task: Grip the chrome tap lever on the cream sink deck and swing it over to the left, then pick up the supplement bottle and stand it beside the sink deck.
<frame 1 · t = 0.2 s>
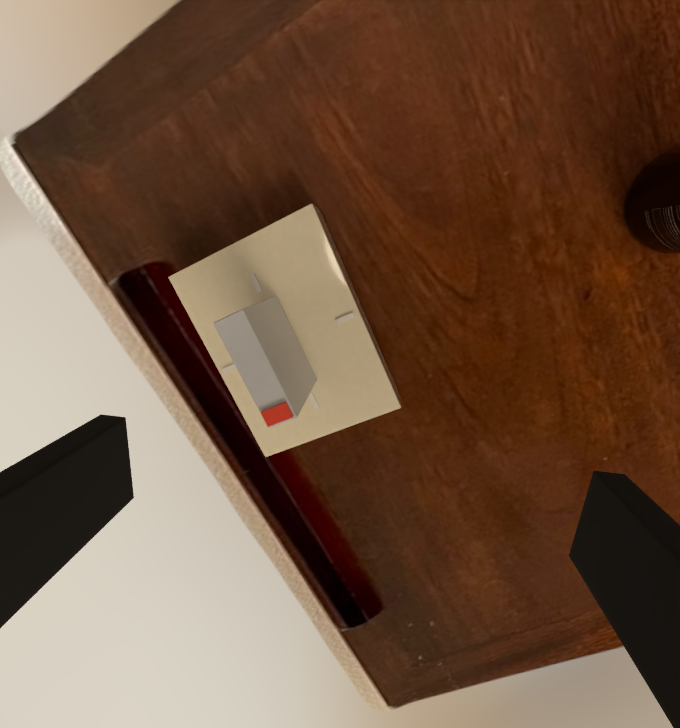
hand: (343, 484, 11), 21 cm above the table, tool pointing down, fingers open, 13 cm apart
supplement bottle: (676, 200, 26), on the table
tap lever: (272, 356, 25), point 7 cm above the table, hinge at 0.0°
sink deck: (295, 335, 32), on the table
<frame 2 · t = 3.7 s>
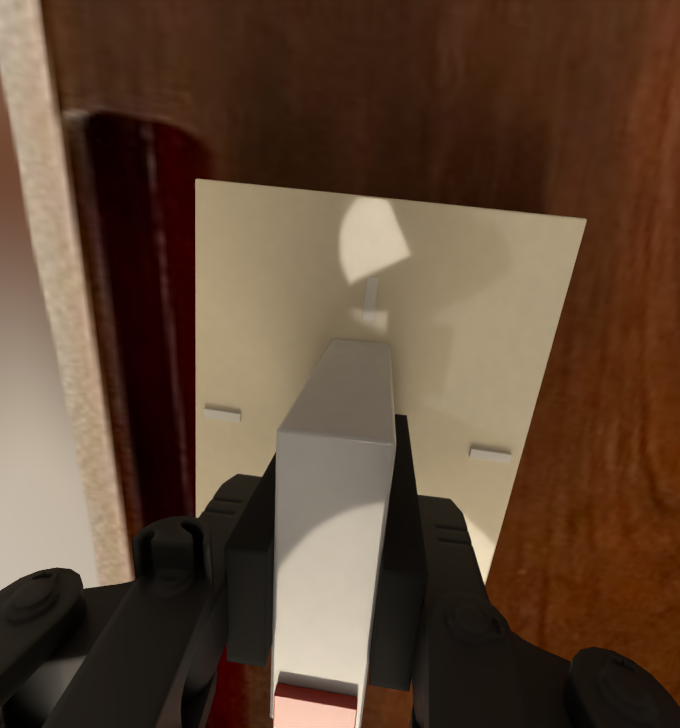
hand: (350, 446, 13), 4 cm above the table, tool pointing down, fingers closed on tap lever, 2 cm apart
tap lever: (342, 494, 10), point 7 cm above the table, hinge at 2.4°, touching gripper
sink deck: (358, 402, 17), on the table
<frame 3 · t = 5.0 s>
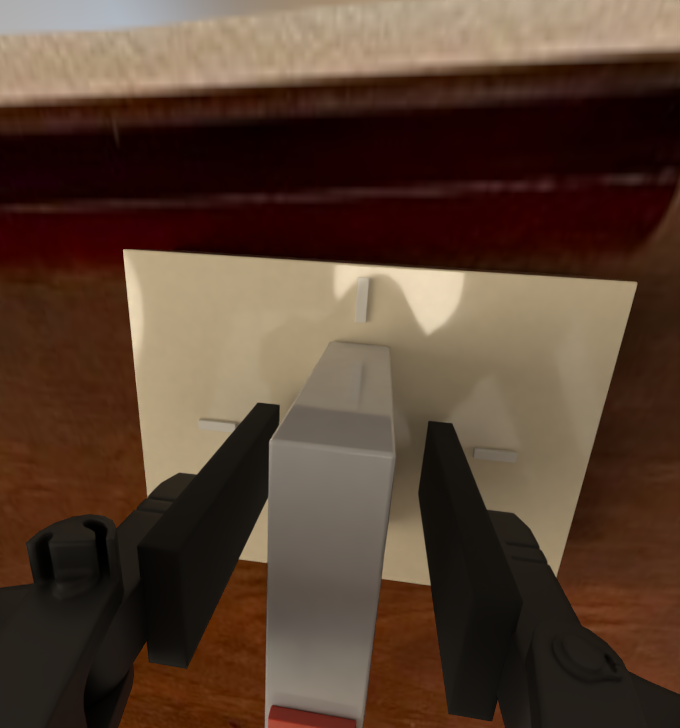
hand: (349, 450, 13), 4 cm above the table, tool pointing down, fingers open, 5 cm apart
tap lever: (340, 503, 10), point 7 cm above the table, hinge at 89.5°
sink deck: (357, 406, 16), on the table
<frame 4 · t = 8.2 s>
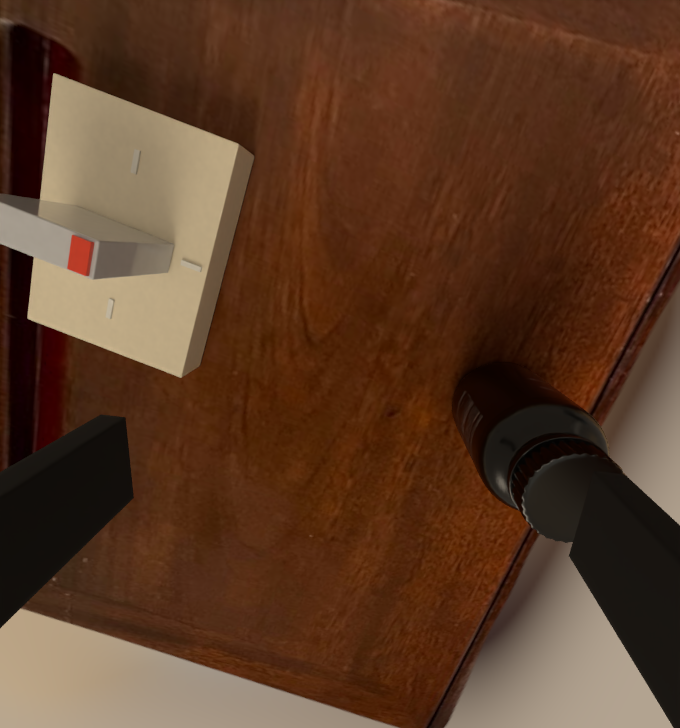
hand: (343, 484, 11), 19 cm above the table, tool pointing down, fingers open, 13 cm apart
supplement bottle: (496, 401, 29), on the table
tap lever: (81, 237, 22), point 7 cm above the table, hinge at 89.5°
sink deck: (149, 240, 28), on the table
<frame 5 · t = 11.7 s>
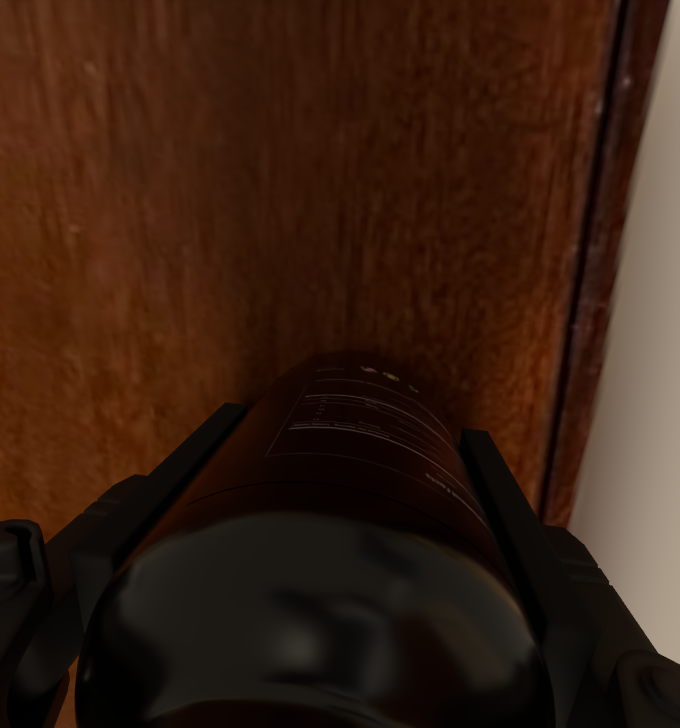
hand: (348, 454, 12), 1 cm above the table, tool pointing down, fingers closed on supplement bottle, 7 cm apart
supplement bottle: (352, 437, 14), on the table, touching gripper
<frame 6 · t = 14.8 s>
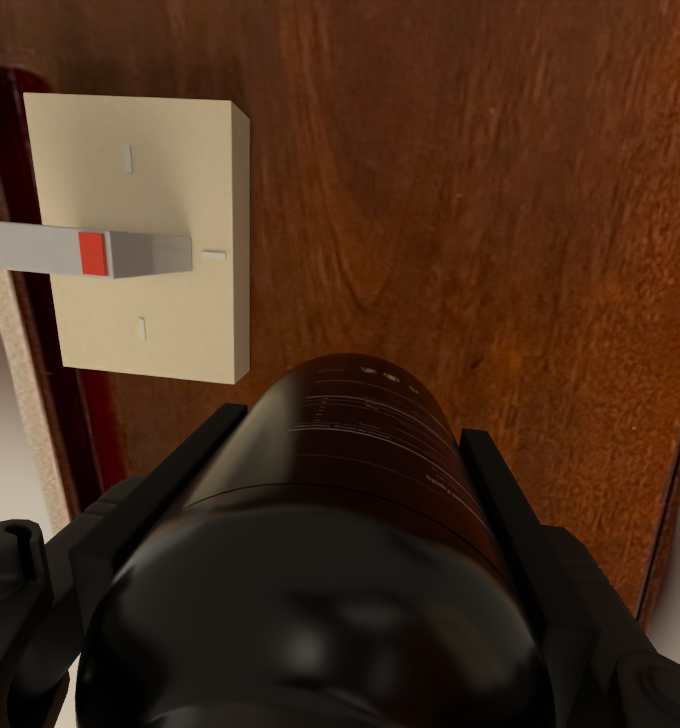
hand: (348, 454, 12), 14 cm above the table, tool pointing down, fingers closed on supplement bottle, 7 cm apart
supplement bottle: (352, 438, 14), point 13 cm above the table, touching gripper
tap lever: (92, 249, 20), point 7 cm above the table, hinge at 89.5°
sink deck: (164, 249, 26), on the table
when the fingers open (1 cm above the table, at t = 18.2 s): supplement bottle stays where it is, on the table.
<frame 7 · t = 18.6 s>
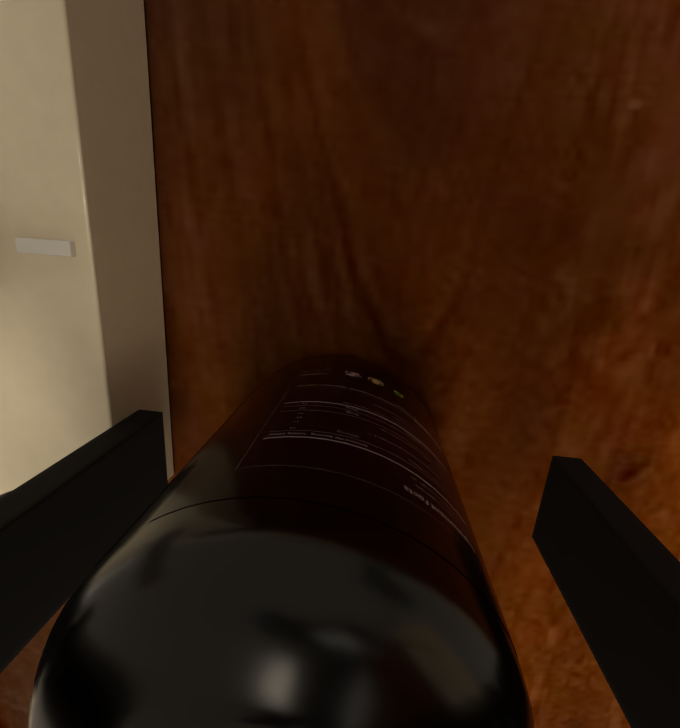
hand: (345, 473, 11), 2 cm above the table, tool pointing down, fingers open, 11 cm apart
supplement bottle: (338, 442, 13), on the table
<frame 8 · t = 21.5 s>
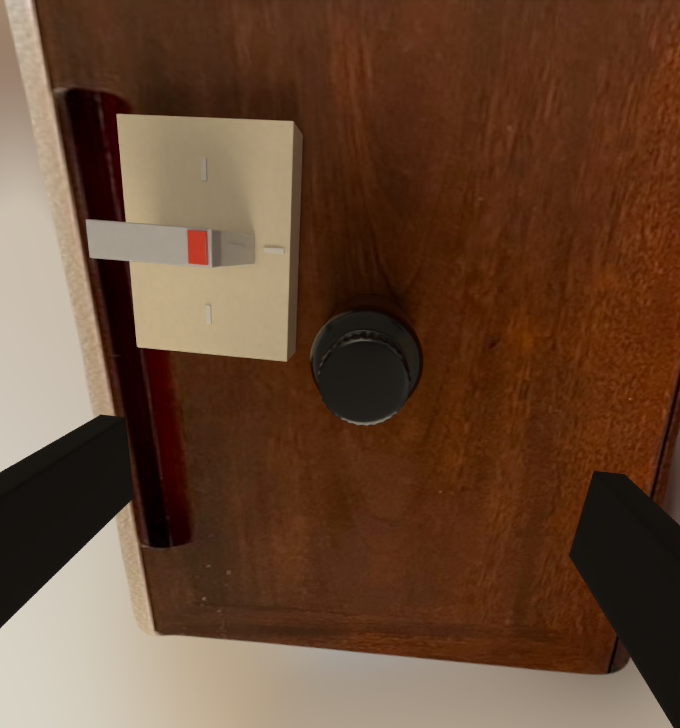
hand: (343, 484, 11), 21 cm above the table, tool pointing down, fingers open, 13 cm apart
supplement bottle: (370, 334, 31), on the table
tap lever: (180, 244, 24), point 7 cm above the table, hinge at 89.5°
sink deck: (223, 246, 30), on the table
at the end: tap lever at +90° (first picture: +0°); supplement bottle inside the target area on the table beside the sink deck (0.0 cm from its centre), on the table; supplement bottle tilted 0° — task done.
